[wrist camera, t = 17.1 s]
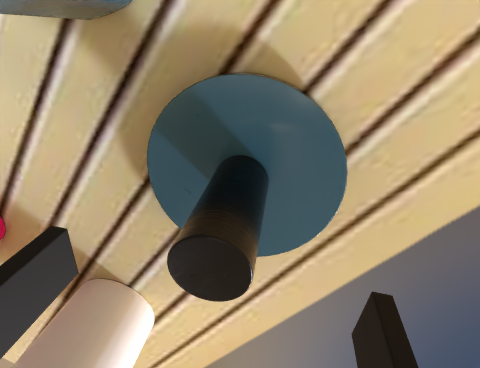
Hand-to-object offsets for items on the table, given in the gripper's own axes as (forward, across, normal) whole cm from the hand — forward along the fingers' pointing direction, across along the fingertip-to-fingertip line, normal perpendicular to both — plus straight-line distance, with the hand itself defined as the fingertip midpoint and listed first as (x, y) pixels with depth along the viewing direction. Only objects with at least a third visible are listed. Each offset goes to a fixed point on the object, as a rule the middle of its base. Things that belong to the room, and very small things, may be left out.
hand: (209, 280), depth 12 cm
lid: (+10, 0, 0) cm, 10 cm away
